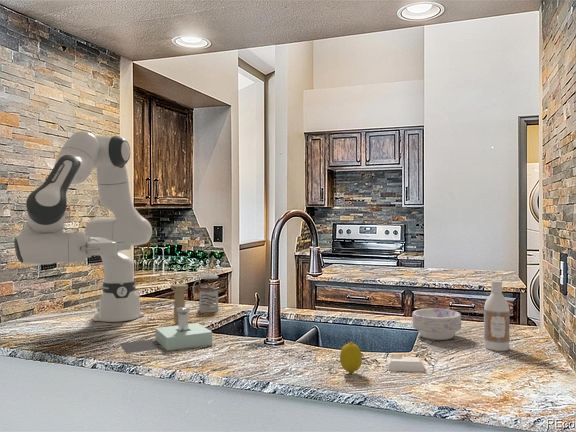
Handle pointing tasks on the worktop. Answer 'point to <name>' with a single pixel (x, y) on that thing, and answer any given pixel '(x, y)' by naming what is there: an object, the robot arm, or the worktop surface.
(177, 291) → the handle
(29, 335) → the worktop surface
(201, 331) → the hole block
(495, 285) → the bath foam
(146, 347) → the mat
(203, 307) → the french press
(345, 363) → the lemon
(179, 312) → the pin
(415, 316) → the marbled white bowl
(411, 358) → the soap bar
